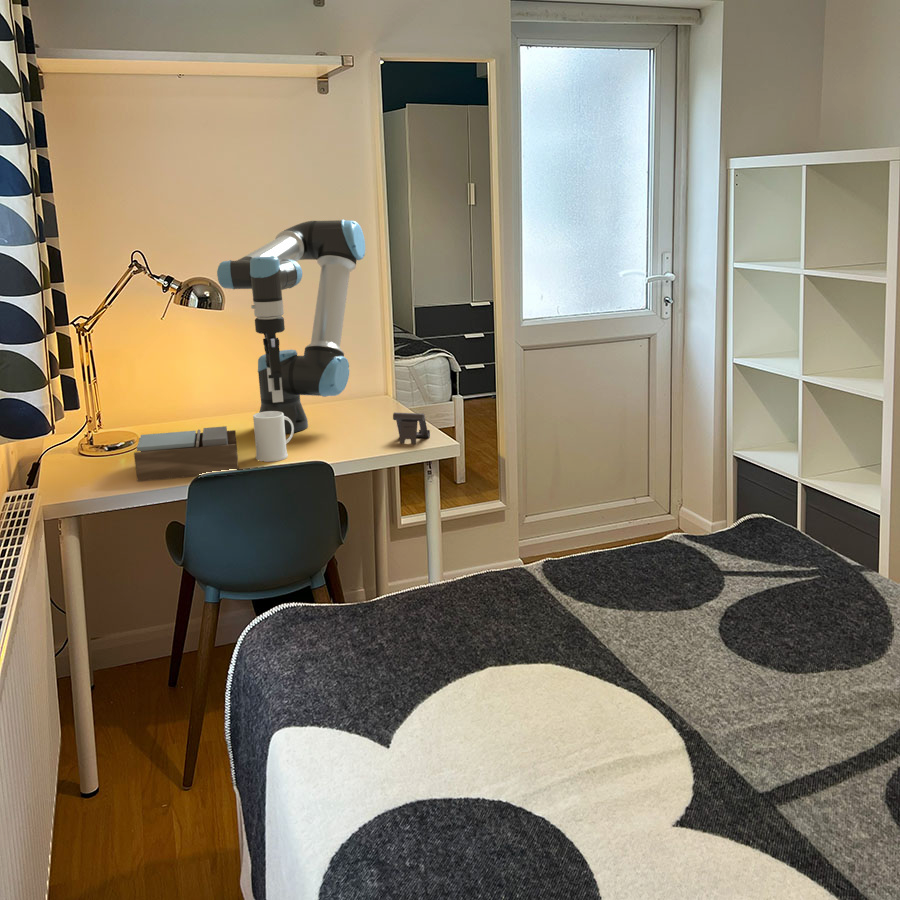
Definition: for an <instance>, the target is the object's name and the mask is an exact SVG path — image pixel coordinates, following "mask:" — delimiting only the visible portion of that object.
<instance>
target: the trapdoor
mask: <svg viewBox="0 0 900 900" xmlns="http://www.w3.org/2000/svg"><path fill="white" fill-rule="evenodd" d="M227 427H228V426H226V425H225V426H224V425H223V426H213V427H212V426H211V427H203V429H202V433H203V438H202V443H203V447H206V446H218V445H228V437H227V431H228V428H227ZM196 433H197V430H185V431H173V432H163V433H162V432H161V433H149V434H147V433H146V434H141V435H140V437H139V438H140V440H139V439H138V443H137V446H136V451H137V452H141V451H147V450H159V449H171V448H183V447H194V445H195V438H196Z"/></svg>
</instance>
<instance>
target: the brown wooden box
mask: <svg viewBox="0 0 900 900" xmlns="http://www.w3.org/2000/svg"><path fill="white" fill-rule="evenodd" d="M236 434H237V433H236V430H235V429H232V430H227V437H228V445H218V446H206V447H203V443H202V438H203V432H201V429H197V430H196V438H195V445H194V447H183V448H171V449H159V450H147V451H137V452H136V451H135V452H133V457H134V465H135V466H134V467H135V475H136V481H137V482H146V481H159V480H168V479H169V480H170V479H178V478H179V479H180V478H191V477H198V476H197V475H199V474H202V473H206V472H212V471H221V470H229V469H238V470H239V456H238V455H239V454H238V444H237V443H238V442H237V435H236ZM139 440H140V437H139V438H138V441H139Z"/></svg>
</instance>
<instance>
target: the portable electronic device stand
mask: <svg viewBox="0 0 900 900" xmlns="http://www.w3.org/2000/svg"><path fill="white" fill-rule="evenodd" d="M392 420H393V421H396V427H397V431H398V435H399V444H405V442H406V440H410V444H412V445H416V444H417V439H419V438H421V439H430V437H431V432H430V431H431V430H430V429H428V427H427V422H426V416H425V413H424V412H423V413H418V412H410V413H409V412H393V414H392ZM418 423H419V429H418Z"/></svg>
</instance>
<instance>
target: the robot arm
mask: <svg viewBox="0 0 900 900" xmlns="http://www.w3.org/2000/svg"><path fill="white" fill-rule="evenodd" d="M365 240H366V239H365V235H364V232H363V229H362V227H361V225H360V224H359V223H358V222H357V221H355V220H348V219H347V220H345V219H341V220H340V219H339V220H309V221H304V222H301V223H298V224H295V225H293V226H290V227H288V228H286V229H284V230H283V231H281V232H279V233H278V234H277V235H276V236H275V239H273V240H271V241H270V242H268V243H266V244H265V245H263V246H261V247H259V248H257V249H256V250H254V251H252V252H250V253H248V254H247V255H245V256H243V257H241V258H239V259H237V260H231V259H230V260H224V261H221V262H220V263H219V265H218V266H217V269H216V270H217V271H216V277H217V281H218V284H219V285H220V286H221V288H223V289H227V290H228V289H229V290H251V291H252V302H253V304H251V306H250V307H251V309H252V310H253V309H254V310H253V312H254V313H253V314H254V317H256V318H255V319H254V326H255V332H256V334H261V335H262V334H263V335H264V338H263V339H262V343H263V348H264V352H265V354H262V355H260V356H259V357H258V360H257V374H258V383H259V396H260V408H259V411H258V413H260V412H266V411H279V412H282V413H284V416H286V417H288V418H289V419H290V420H291V421H292V423H293V426H294V433H297V432H300V431H303V430H306V429H308V427H309V422H308V421H309V420H308V417H307V415H306V413H305V410H304V407H303V405H302V402H301V396H313V397H314V396H316V397H317V396H318V397H319V396H320V397H323V398H324V397H333V396H334V397H335V396H339V395H341V393H342V392H344V390H345V389H346V387H347V384H348V382H349V377H350V368H349V367H350V362H349V361H348V358H346V357H345V353H344V351H343V349H342V347H341V341H342V340H341V339H342V332H343V327H344V319H345V312H346V311H345V310H346V303H347V296H348V288H349V282H350V273H351V272H352V271H353V270H355V269H356V266H357V261H361V260H363V259H364V257H365V255H366V241H365ZM304 260H313V261H314V260H316V261H317V264H318V265H319V266H320V268H321V269H320V275H319V282H318V288H317V289H318V290H317V297H316V304H315V311H314V317H313V318H314V319H313V326H312V331H311V333H312V334H311V338H310V339H311V341H310V343H309V344H308V345H306V346H305V347H304V353H303V355H298V352H297V350H296V349H283V350H280V339H279V337H277V336H276V335H277V334H278V333H282V332H284V331H285V318H284V317H283V316H284V313H285V312H284V303H283V302H284V301H283V294H282V292H283V290H287V289H292V288H294V287H295V286H298V284H300V283H301V281H302V279H303V278H302V277H303V270H302V267H301V265H300V264H299V261H304ZM284 425H285V434H291V431H292V427H291V424H290V422H289V421H287V420H284Z"/></svg>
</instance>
